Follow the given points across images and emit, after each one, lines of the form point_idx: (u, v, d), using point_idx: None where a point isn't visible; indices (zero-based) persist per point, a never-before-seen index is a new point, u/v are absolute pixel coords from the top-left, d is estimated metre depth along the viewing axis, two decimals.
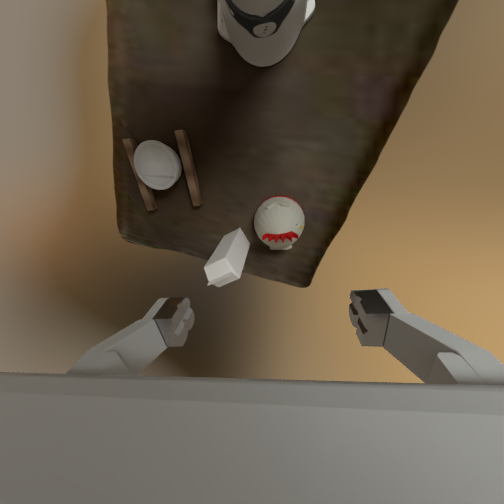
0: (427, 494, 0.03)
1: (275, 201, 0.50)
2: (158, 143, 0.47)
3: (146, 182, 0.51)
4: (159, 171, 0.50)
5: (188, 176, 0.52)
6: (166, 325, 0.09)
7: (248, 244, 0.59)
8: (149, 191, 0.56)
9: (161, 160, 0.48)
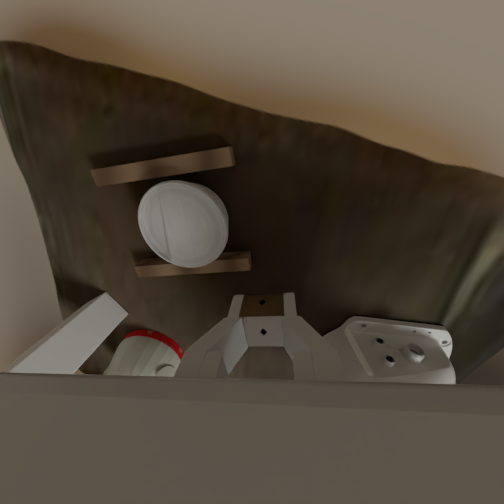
0: (426, 493, 0.03)
1: (169, 373, 0.39)
2: (222, 244, 0.25)
3: (145, 200, 0.23)
4: (174, 236, 0.25)
5: (181, 267, 0.30)
6: (253, 323, 0.08)
7: None
8: None
9: (194, 244, 0.25)
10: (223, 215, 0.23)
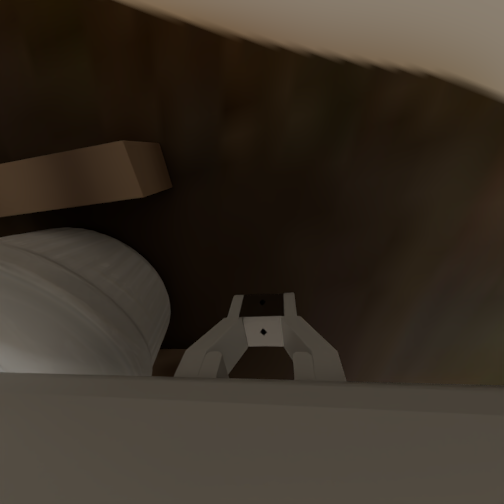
0: (427, 494, 0.03)
1: None
2: None
3: None
4: (16, 367, 0.10)
5: None
6: (253, 323, 0.08)
7: None
8: None
9: None
10: (122, 334, 0.08)
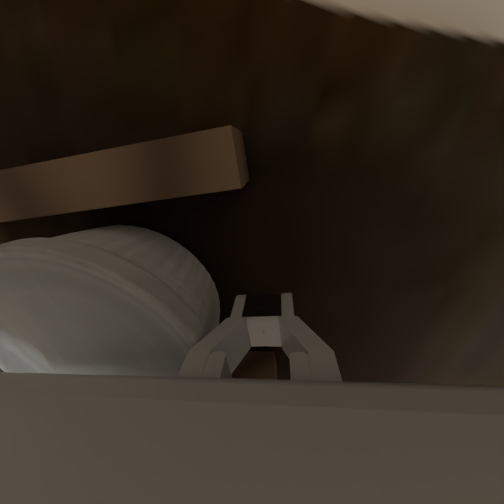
0: (427, 493, 0.03)
1: None
2: None
3: None
4: None
5: None
6: (256, 323, 0.08)
7: None
8: None
9: None
10: (199, 339, 0.08)
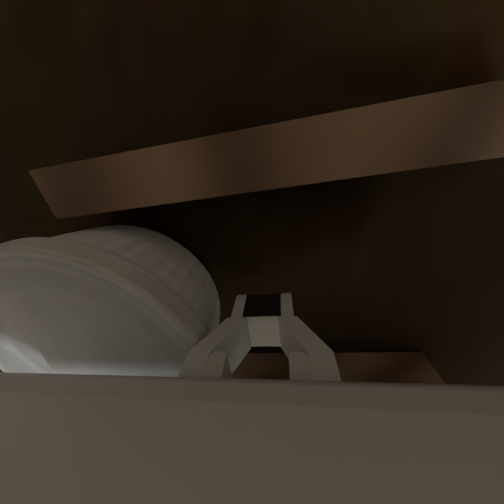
0: (427, 493, 0.03)
1: None
2: None
3: None
4: None
5: None
6: (257, 323, 0.08)
7: None
8: None
9: None
10: (199, 339, 0.08)
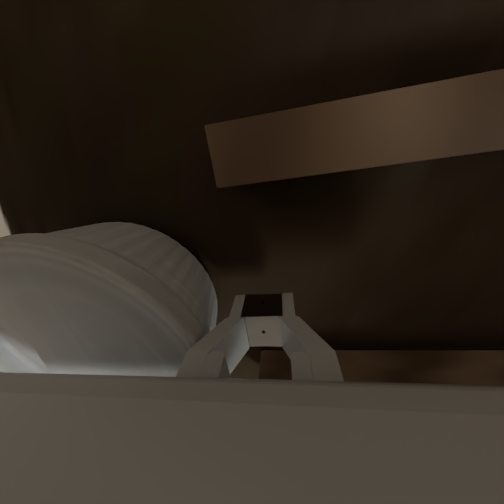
0: (427, 494, 0.03)
1: None
2: None
3: None
4: (66, 372, 0.09)
5: None
6: (255, 323, 0.08)
7: None
8: None
9: None
10: (196, 340, 0.08)
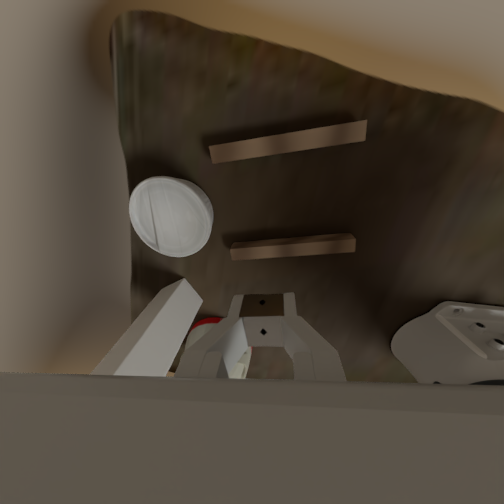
0: (427, 494, 0.03)
1: (246, 361, 0.38)
2: (205, 236, 0.27)
3: (136, 193, 0.26)
4: (162, 227, 0.27)
5: (280, 249, 0.30)
6: (253, 323, 0.08)
7: None
8: None
9: (180, 235, 0.27)
10: (206, 209, 0.26)
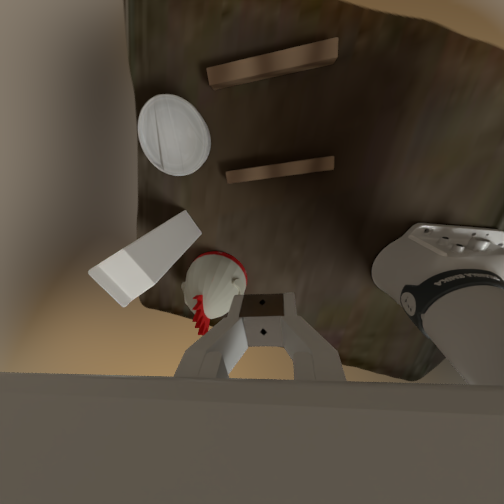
0: (427, 494, 0.03)
1: (241, 286, 0.42)
2: (204, 152, 0.31)
3: (144, 112, 0.30)
4: (166, 145, 0.32)
5: (269, 170, 0.34)
6: (253, 323, 0.08)
7: None
8: (244, 80, 0.30)
9: (181, 152, 0.32)
10: (204, 125, 0.30)
